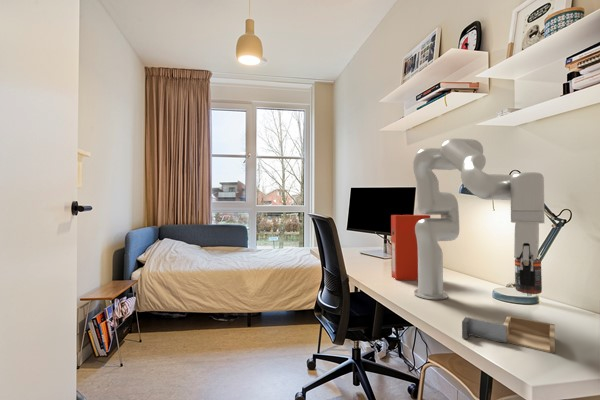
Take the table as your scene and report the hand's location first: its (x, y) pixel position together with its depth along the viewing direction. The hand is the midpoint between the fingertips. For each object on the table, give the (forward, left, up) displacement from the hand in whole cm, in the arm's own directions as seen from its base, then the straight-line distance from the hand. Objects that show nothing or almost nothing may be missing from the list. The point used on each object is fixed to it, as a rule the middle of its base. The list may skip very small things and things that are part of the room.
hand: (528, 282), depth 86 cm
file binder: (-52, -51, -16) cm, 75 cm away
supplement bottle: (0, 0, -3) cm, 3 cm away
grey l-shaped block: (+8, -9, -16) cm, 20 cm away
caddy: (0, 0, -16) cm, 16 cm away
